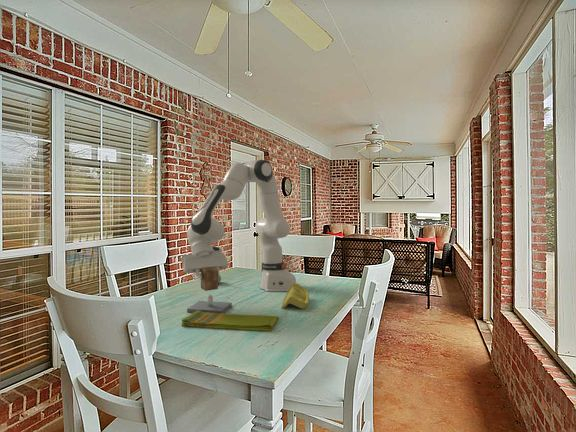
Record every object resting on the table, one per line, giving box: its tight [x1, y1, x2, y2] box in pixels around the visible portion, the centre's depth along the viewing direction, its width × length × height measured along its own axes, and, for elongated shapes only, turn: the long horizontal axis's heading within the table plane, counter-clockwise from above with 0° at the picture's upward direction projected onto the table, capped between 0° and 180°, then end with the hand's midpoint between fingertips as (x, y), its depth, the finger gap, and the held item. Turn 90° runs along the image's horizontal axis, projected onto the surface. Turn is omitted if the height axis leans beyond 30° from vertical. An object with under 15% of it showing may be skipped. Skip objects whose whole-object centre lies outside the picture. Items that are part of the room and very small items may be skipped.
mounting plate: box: [186, 294, 233, 314], centre depth 150 cm, size 16×12×6 cm
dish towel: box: [181, 311, 279, 333], centre depth 134 cm, size 15×36×3 cm, turn 80°
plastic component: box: [281, 282, 310, 310], centre depth 159 cm, size 20×7×10 cm
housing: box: [200, 267, 219, 292], centre depth 150 cm, size 6×6×9 cm
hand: (209, 278), depth 149 cm, fingers closed on housing, 6 cm apart
